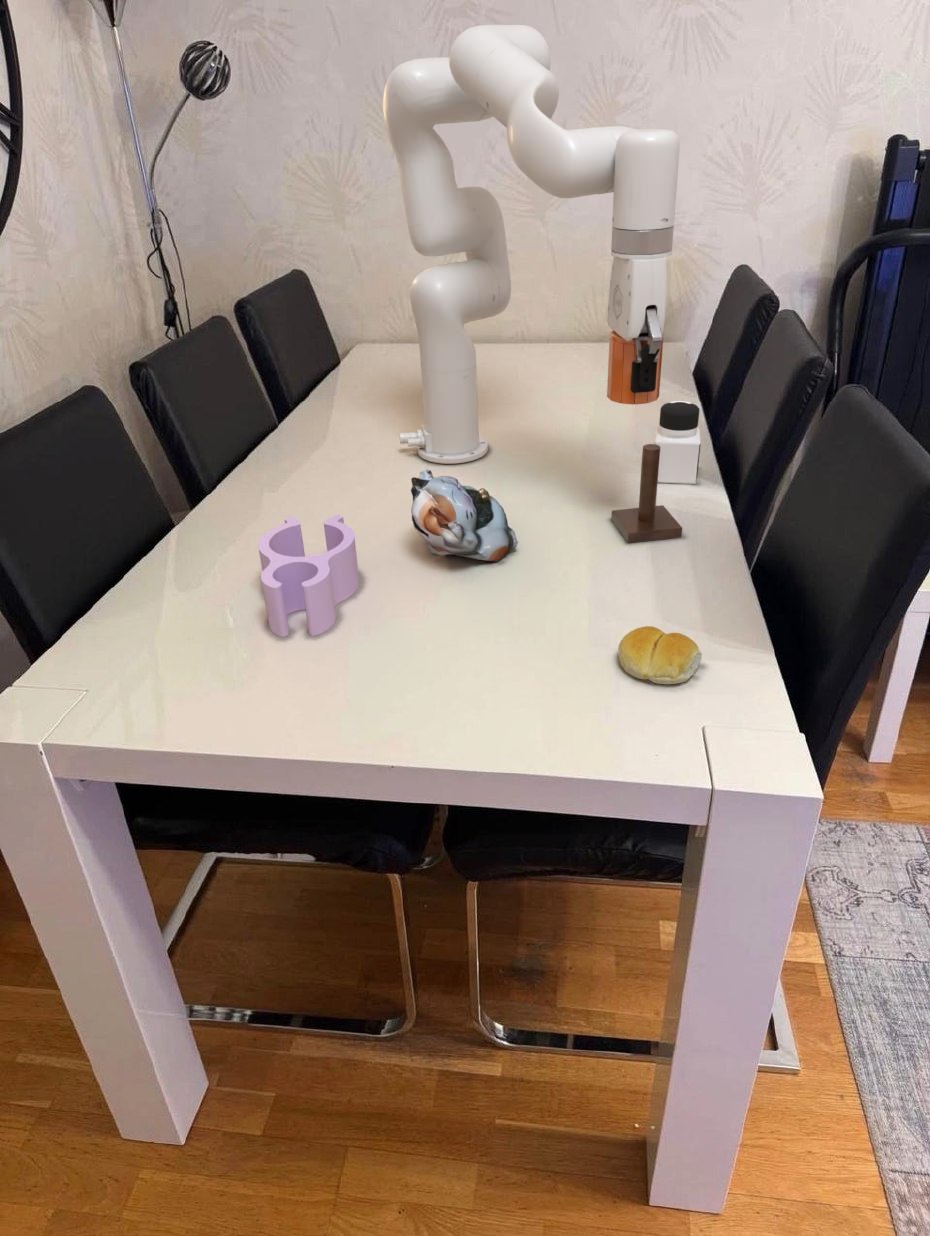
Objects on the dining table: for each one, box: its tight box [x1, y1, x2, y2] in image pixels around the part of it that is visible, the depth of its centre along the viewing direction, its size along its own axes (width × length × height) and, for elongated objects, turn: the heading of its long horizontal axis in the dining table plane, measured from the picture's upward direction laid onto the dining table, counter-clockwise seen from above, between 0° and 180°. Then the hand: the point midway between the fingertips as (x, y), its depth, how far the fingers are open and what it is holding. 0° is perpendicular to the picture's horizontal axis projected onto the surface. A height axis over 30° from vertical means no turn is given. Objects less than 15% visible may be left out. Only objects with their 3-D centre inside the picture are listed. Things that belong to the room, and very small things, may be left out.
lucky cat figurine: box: [410, 469, 519, 563], centre depth 124 cm, size 15×12×14 cm
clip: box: [257, 514, 360, 638], centre depth 117 cm, size 20×12×7 cm, turn 0°
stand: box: [610, 443, 683, 544], centre depth 128 cm, size 8×8×13 cm
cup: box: [606, 330, 664, 406], centre depth 120 cm, size 7×7×8 cm
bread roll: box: [617, 625, 703, 685], centre depth 101 cm, size 8×9×4 cm
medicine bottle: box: [653, 400, 702, 485], centre depth 145 cm, size 7×7×12 cm
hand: (633, 382), depth 121 cm, fingers closed on cup, 6 cm apart
